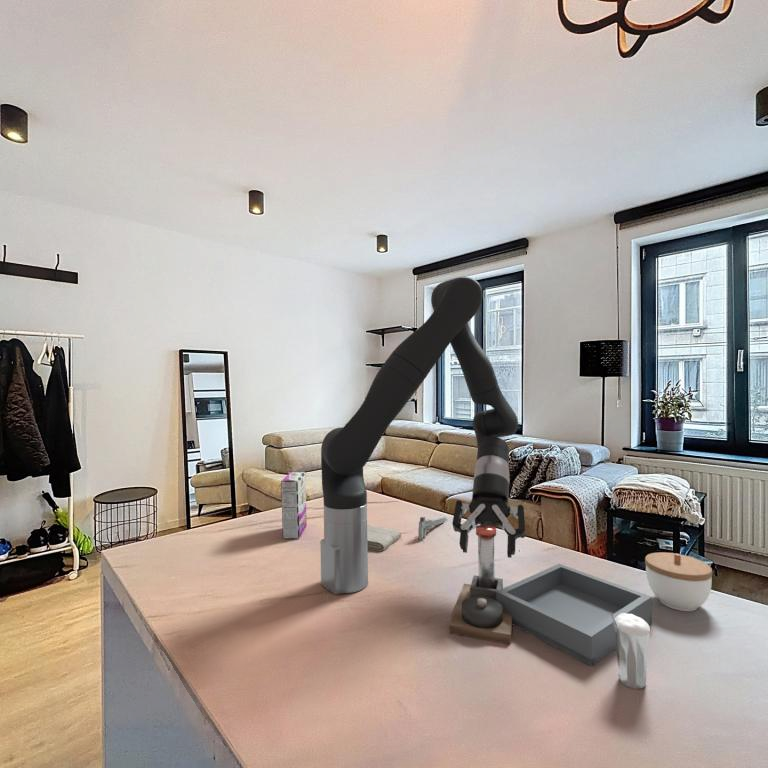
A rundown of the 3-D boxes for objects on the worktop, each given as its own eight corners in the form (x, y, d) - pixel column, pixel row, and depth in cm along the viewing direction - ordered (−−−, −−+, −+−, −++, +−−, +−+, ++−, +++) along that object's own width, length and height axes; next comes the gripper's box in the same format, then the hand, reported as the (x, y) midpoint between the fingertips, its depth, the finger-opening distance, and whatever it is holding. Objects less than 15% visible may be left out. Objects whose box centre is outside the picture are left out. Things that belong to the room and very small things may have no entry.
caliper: (422, 542, 119) (421, 519, 119) (418, 541, 120) (418, 518, 120) (447, 520, 137) (447, 500, 137) (444, 520, 138) (444, 499, 138)
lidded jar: (701, 594, 88) (700, 547, 88) (722, 622, 78) (721, 569, 78) (640, 586, 92) (639, 541, 92) (652, 612, 81) (652, 561, 81)
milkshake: (602, 672, 65) (601, 604, 65) (636, 670, 66) (636, 602, 65) (621, 694, 61) (620, 621, 60) (658, 691, 61) (657, 619, 61)
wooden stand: (510, 643, 72) (510, 616, 72) (449, 633, 76) (449, 607, 76) (514, 597, 88) (514, 575, 88) (464, 590, 91) (463, 569, 91)
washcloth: (347, 529, 131) (347, 519, 131) (403, 538, 123) (403, 527, 123) (325, 543, 120) (324, 531, 120) (384, 553, 112) (384, 541, 112)
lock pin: (487, 603, 83) (486, 532, 83) (472, 595, 86) (471, 527, 86) (501, 597, 85) (500, 528, 85) (485, 589, 88) (484, 523, 88)
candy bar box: (290, 526, 133) (289, 471, 133) (307, 526, 133) (306, 471, 133) (281, 539, 122) (280, 480, 122) (299, 539, 122) (298, 480, 122)
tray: (591, 666, 67) (591, 636, 66) (496, 616, 81) (496, 591, 81) (651, 622, 78) (651, 596, 78) (559, 585, 93) (559, 563, 93)
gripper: (456, 470, 97) (447, 541, 86) (525, 473, 92) (524, 548, 81) (460, 488, 102) (452, 557, 91) (525, 492, 97) (525, 566, 86)
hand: (486, 553), depth 86 cm, fingers open, 8 cm apart
